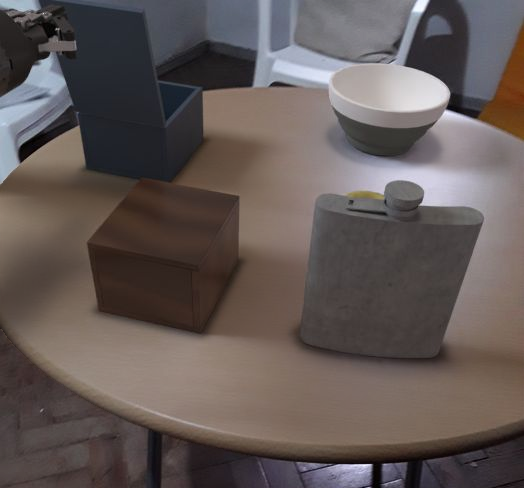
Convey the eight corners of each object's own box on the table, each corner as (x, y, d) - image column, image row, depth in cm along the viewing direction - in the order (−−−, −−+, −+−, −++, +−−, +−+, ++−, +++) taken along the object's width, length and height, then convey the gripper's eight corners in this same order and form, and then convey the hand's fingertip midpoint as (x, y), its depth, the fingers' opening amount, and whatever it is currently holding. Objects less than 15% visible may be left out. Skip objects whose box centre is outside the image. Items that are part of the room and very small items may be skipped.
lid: (40, -6, 76) (37, -3, 76) (144, 8, 74) (142, 12, 74) (77, 108, 90) (75, 111, 90) (166, 123, 88) (164, 127, 88)
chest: (128, 126, 108) (122, 74, 101) (203, 140, 105) (202, 87, 99) (86, 169, 97) (77, 113, 90) (169, 184, 94) (165, 128, 88)
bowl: (423, 180, 99) (438, 122, 92) (306, 153, 104) (312, 95, 97) (445, 130, 112) (459, 76, 106) (340, 108, 117) (348, 55, 110)
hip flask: (437, 340, 72) (489, 184, 58) (440, 365, 70) (496, 207, 56) (300, 325, 73) (319, 168, 59) (297, 349, 70) (317, 190, 56)
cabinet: (147, 242, 84) (141, 177, 77) (238, 261, 82) (239, 195, 75) (98, 310, 73) (86, 241, 67) (200, 333, 71) (198, 265, 65)
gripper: (-85, 91, 60) (11, 43, 73) (42, 114, 58) (118, 60, 71) (-110, 4, 55) (-2, -32, 68) (29, 26, 53) (113, -15, 66)
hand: (60, 15), depth 69 cm, fingers closed
